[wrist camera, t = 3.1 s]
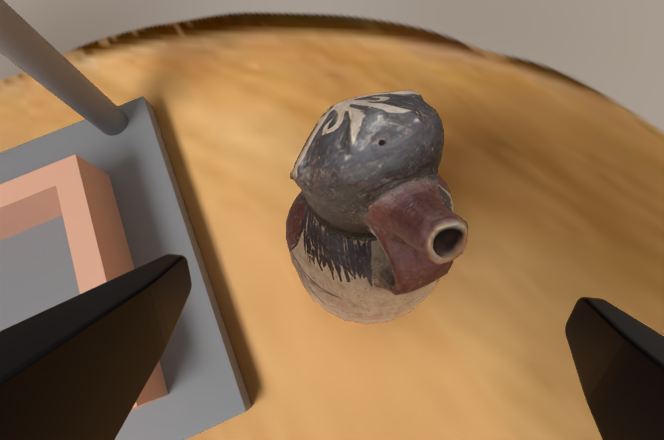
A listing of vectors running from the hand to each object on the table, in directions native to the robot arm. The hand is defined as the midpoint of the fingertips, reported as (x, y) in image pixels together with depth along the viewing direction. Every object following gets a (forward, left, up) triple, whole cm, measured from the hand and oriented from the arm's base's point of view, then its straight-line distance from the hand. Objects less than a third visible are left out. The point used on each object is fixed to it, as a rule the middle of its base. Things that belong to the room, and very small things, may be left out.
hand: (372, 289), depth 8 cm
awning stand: (+13, +11, -10) cm, 20 cm away
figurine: (+1, -2, -10) cm, 11 cm away
